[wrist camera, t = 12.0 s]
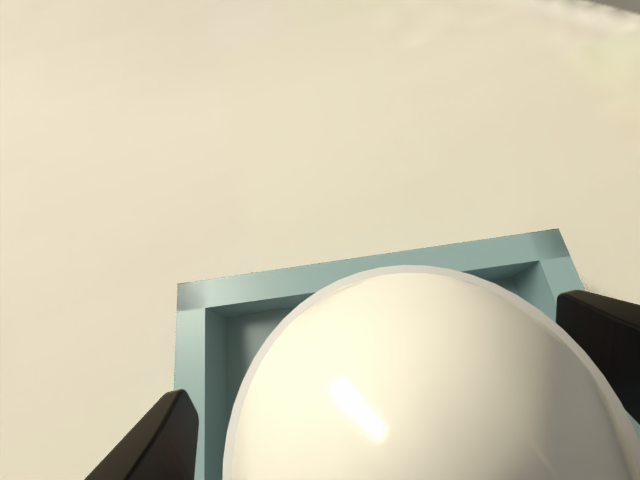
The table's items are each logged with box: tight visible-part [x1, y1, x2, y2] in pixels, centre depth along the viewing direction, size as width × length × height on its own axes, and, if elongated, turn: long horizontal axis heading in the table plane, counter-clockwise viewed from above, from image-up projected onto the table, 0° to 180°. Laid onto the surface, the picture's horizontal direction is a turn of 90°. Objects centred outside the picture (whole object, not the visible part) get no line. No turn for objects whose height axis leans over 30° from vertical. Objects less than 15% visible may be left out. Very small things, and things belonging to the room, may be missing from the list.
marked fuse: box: [222, 265, 640, 480], centre depth 9 cm, size 4×4×12 cm
